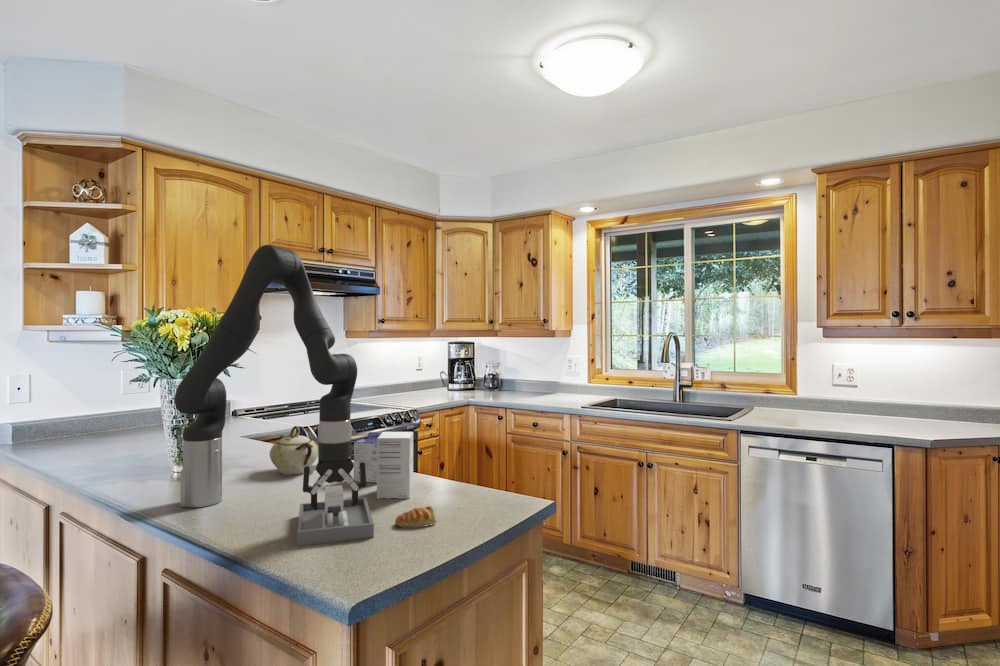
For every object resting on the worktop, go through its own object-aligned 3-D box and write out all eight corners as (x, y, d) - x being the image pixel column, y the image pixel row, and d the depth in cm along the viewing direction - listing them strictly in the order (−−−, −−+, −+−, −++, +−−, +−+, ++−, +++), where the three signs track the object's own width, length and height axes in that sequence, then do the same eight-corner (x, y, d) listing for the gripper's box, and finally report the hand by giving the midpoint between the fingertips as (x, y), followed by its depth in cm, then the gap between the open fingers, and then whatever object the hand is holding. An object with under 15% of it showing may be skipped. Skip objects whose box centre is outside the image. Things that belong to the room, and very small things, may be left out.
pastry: (399, 532, 124) (399, 515, 124) (391, 523, 130) (391, 507, 130) (438, 525, 129) (438, 509, 129) (428, 517, 135) (428, 501, 135)
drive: (324, 526, 122) (324, 498, 122) (324, 513, 131) (324, 486, 131) (343, 525, 124) (343, 496, 123) (342, 511, 132) (342, 485, 132)
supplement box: (381, 489, 157) (381, 431, 157) (413, 488, 158) (413, 431, 158) (376, 499, 148) (376, 437, 148) (410, 498, 148) (410, 437, 148)
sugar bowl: (331, 472, 175) (331, 426, 175) (287, 482, 164) (287, 432, 164) (300, 462, 188) (300, 419, 188) (257, 471, 177) (258, 425, 177)
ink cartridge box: (390, 478, 168) (390, 432, 168) (383, 483, 163) (383, 435, 163) (361, 477, 170) (361, 431, 170) (353, 481, 165) (353, 434, 165)
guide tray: (297, 546, 116) (297, 522, 116) (300, 515, 135) (300, 495, 134) (373, 537, 121) (373, 514, 121) (366, 509, 140) (366, 489, 140)
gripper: (302, 443, 122) (302, 515, 122) (367, 439, 126) (367, 509, 126) (303, 437, 129) (303, 505, 129) (364, 434, 133) (364, 499, 133)
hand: (334, 507), depth 128 cm, fingers open, 8 cm apart
